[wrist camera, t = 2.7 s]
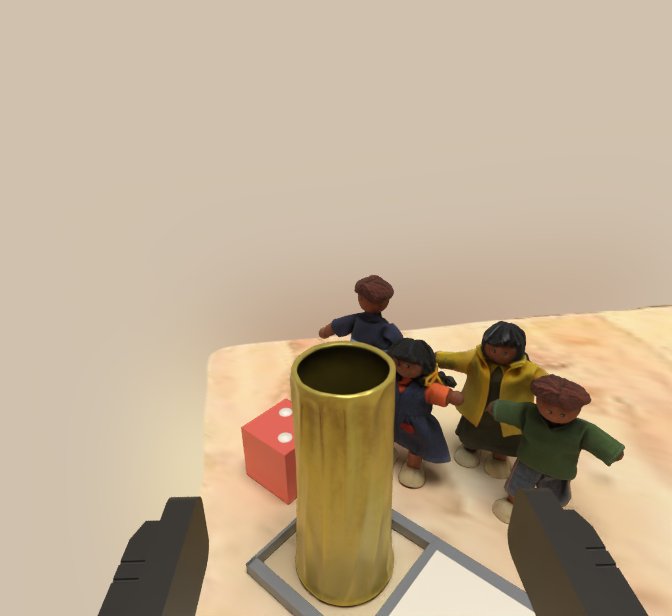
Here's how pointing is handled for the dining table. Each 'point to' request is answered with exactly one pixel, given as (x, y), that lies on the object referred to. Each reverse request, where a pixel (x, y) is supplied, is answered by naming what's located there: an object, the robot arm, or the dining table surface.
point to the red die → (272, 450)
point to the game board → (416, 581)
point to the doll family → (481, 404)
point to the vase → (344, 469)
